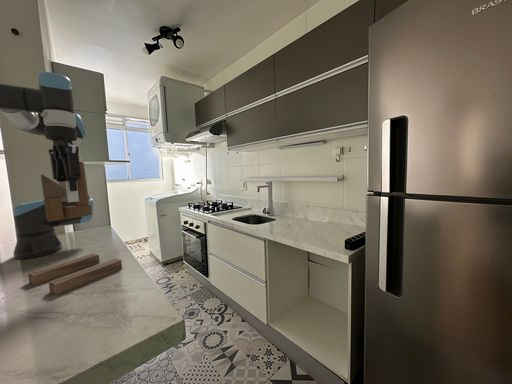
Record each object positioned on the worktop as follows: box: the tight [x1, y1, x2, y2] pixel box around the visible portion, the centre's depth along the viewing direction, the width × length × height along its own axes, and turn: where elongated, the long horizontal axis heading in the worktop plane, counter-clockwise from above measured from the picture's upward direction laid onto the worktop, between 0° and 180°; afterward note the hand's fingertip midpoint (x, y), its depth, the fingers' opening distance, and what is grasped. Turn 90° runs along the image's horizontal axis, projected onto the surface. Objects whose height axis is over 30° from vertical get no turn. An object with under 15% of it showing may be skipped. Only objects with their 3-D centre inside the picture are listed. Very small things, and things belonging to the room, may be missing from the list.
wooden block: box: [40, 160, 93, 222], centre depth 69 cm, size 4×11×18 cm, turn 139°
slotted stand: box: [27, 252, 123, 296], centre depth 71 cm, size 18×18×3 cm
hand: (69, 201), depth 69 cm, fingers closed on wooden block, 4 cm apart
